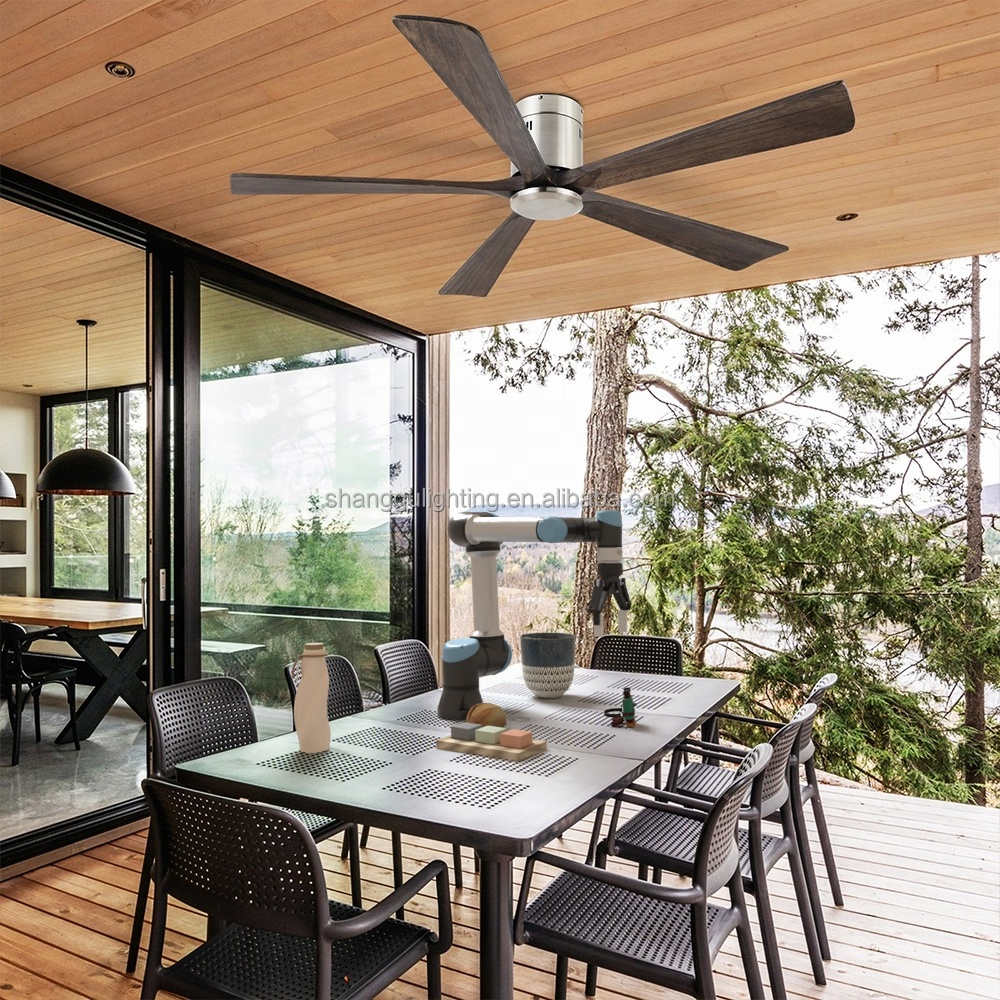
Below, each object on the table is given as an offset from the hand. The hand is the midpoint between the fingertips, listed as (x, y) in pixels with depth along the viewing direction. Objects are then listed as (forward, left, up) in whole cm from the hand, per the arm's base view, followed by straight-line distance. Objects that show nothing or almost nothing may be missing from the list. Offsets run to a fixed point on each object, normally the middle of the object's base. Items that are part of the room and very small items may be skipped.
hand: (611, 634), depth 236 cm
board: (-17, -39, -27) cm, 50 cm away
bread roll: (-29, -24, -27) cm, 46 cm away
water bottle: (-57, -65, -27) cm, 90 cm away
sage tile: (-17, -38, -25) cm, 49 cm away
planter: (-39, +29, -27) cm, 56 cm away
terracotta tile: (-9, -39, -25) cm, 47 cm away
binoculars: (+1, +3, -27) cm, 28 cm away
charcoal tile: (-25, -39, -25) cm, 52 cm away
